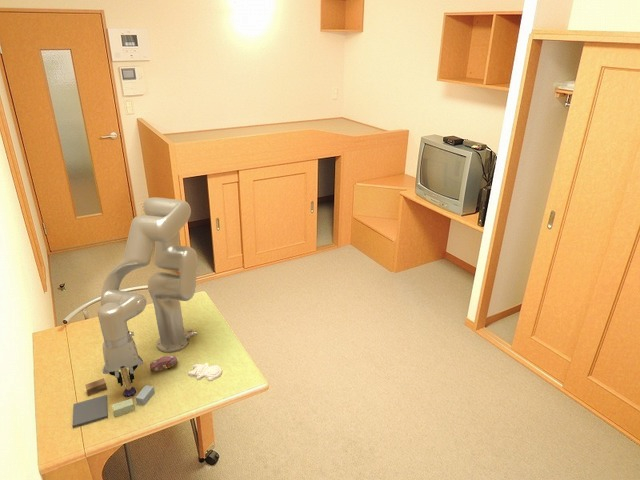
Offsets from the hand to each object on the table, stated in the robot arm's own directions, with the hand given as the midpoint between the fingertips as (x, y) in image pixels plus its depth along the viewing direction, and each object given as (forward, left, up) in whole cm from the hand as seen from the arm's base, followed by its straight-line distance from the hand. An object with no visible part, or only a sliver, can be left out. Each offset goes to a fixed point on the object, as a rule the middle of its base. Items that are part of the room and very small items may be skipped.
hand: (126, 382), depth 151 cm
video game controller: (-13, -8, -5) cm, 16 cm away
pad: (+12, +4, -5) cm, 14 cm away
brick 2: (+2, +8, -5) cm, 10 cm away
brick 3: (-5, +5, -5) cm, 9 cm away
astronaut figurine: (-26, +1, -5) cm, 27 cm away
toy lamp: (0, 0, -5) cm, 5 cm away
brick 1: (+10, -6, -5) cm, 13 cm away
